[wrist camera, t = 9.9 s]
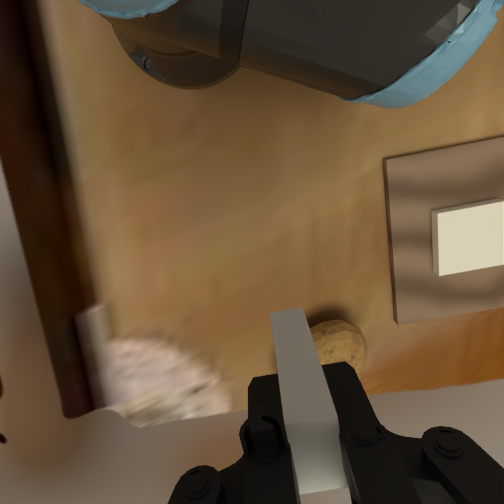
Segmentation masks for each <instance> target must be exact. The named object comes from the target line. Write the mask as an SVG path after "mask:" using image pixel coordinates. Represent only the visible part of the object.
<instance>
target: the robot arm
mask: <svg viewBox="0 0 504 504" xmlns="http://www.w3.org/2000/svg"><path fill="white" fill-rule="evenodd" d="M79 1H80V2H81V3H82V4H83V5H85V6H87V7H90V8H91V9H93V10H94V11H95V12H97V13H99V14H100V15H101V16H103V17H104V18H105V19H106V20H108V21H109V22H110V23H112V26H113V29H114V31H115V34H116V36H117V38H118V40H119V42H120V44H121V45H122V47H123V48H124V50H125V51H126V53H127V54H128V55H129V57H130V58H131V59H132V60H133V61H134V62H135V63H136V65H138V66H139V67H140V68H141V69H142V70H143V71H144V72H146V73H147V74H149V75H150V76H152V77H153V78H155V79H157V80H159V81H160V82H162V83H165V84H167V85H170V86H173V87H177V88H182V89H200V88H206V87H209V86H212V85H215V84H217V83H219V82H221V81H223V80H225V79H226V78H228V77H229V76H230V75H232V74H233V73H234V72H235V71H236V70H237V69H238V68H239V67H240V66H244V67H247V68H250V69H253V70H256V71H260V72H263V73H266V74H269V75H272V76H276V77H279V78H282V79H285V80H288V81H291V82H295V83H298V84H301V85H304V86H307V87H311V88H314V89H317V90H320V91H323V92H326V93H330V94H333V95H336V96H338V97H339V98H340V99H342V100H344V101H347V102H353V103H361V102H363V103H367V104H371V105H375V106H379V107H383V108H402V107H406V106H409V105H412V104H414V103H417V102H419V101H421V100H423V99H424V98H426V97H428V96H429V95H431V94H432V93H433V92H435V91H436V90H438V89H439V88H440V87H441V86H443V85H444V84H445V83H446V82H447V81H448V80H449V79H451V78H452V77H453V76H454V75H455V74H456V73H457V72H458V71H459V70H460V69H461V68H462V67H463V66H464V65H465V63H466V62H467V61H468V60H469V59H470V58H471V57H472V55H473V54H474V53H475V52H476V51H477V49H478V48H479V47H480V46H481V44H482V43H483V42H484V40H485V39H486V37H487V36H488V35H489V33H490V32H491V30H492V29H493V27H494V26H495V24H496V23H497V21H498V20H497V17H496V12H497V11H498V10H499V9H500V7H501V6H502V5H503V4H504V0H79ZM270 317H271V325H272V332H273V340H274V348H275V355H276V363H277V371H278V373H277V374H271V375H265V376H259V377H254V378H253V379H252V381H251V383H250V385H249V387H248V419H247V420H246V421H245V422H244V424H243V425H242V426H241V428H240V433H239V436H240V440H241V444H242V448H243V451H244V454H243V456H242V457H241V458H240V459H239V460H238V461H237V462H236V463H234V464H233V465H231V466H229V467H227V468H225V469H223V470H221V471H219V472H218V471H217V470H216V469H215V468H214V467H211V466H207V465H203V466H197V467H194V468H192V469H190V470H188V471H187V472H186V473H185V474H184V475H182V476H181V477H180V479H179V481H178V482H177V484H176V486H175V488H174V490H173V493H172V495H171V497H170V499H169V502H168V504H301V502H300V496H299V495H300V494H306V493H312V492H319V491H325V490H332V489H338V488H345V487H348V486H349V490H350V495H351V501H352V504H504V468H503V467H502V466H500V465H499V464H498V463H497V462H496V461H495V460H494V459H493V458H492V457H491V456H489V454H487V453H486V452H485V451H484V450H483V449H482V448H481V447H480V446H479V445H477V444H476V443H475V442H474V441H473V440H472V439H471V438H470V437H469V436H467V435H465V434H464V433H463V432H461V431H459V430H457V429H454V428H451V427H443V426H438V427H433V428H430V429H428V430H427V431H425V432H424V434H423V436H422V438H412V437H405V436H400V435H397V434H394V433H392V432H390V431H388V430H387V429H386V428H385V427H384V426H383V425H381V424H380V422H379V421H378V419H377V417H376V415H375V413H374V411H373V408H372V406H371V404H370V402H369V400H368V397H367V395H366V393H365V391H364V389H363V386H362V384H361V382H360V381H359V378H358V375H357V373H356V371H355V369H354V368H353V367H352V366H351V365H349V364H348V363H347V362H346V361H342V362H336V363H330V364H324V365H321V363H320V360H319V357H318V354H317V351H316V347H315V344H314V341H313V338H312V335H311V332H310V329H309V326H308V322H307V319H306V316H305V313H304V310H303V307H301V308H296V309H290V310H284V311H279V312H273V313H270ZM347 483H348V485H347Z"/></svg>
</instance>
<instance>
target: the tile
mask: <svg viewBox="0 0 504 504" xmlns="http://www.w3.org/2000/svg"><path fill="white" fill-rule="evenodd" d="M431 217H432V248H433V272H434V273H436V274H437V275H438V276H443V275H448V274H454V273H459V272H465V271H471V270H476V269H482V268H487V267H493V266H499V265H504V200H503V199H499V198H498V199H493V200H487V201H482V202H477V203H471V204H466V205H461V206H455V207H450V208H445V209H439V210H434V211H431Z"/></svg>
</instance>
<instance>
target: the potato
mask: <svg viewBox="0 0 504 504" xmlns="http://www.w3.org/2000/svg"><path fill="white" fill-rule="evenodd" d="M310 332H311V335H312V338H313V341H314V344H315V347H316V351H317V354H318V357H319V360H320V363H321V365H324V364H330V363H336V362H342V361H346V362H347V363H348V364H349V365H351V366H352V367H353V368H354V369H355V371H356V373H357V375H358V378H359V380H360V378H361V374H362V370H363V366H364V363H365V359H366V342H365V339H364V336H363V334H362V332H361V329H360V328H359V327H357V326H356V325H354V324H352V323H349V322H346V321H343V320H340V319H337V320H331V321H326V322H322V323H320V324H318V325H316V326H314V327H312V328H310Z"/></svg>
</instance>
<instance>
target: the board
mask: <svg viewBox="0 0 504 504" xmlns="http://www.w3.org/2000/svg"><path fill="white" fill-rule="evenodd" d="M383 170H384V183H385V197H386V211H387V224H388V238H389V252H390V265H391V279H392V293H393V307H394V320H395V322H396V323H397V325H402V324H408V323H414V322H420V321H425V320H431V319H437V318H443V317H449V316H454V315H460V314H466V313H472V312H477V311H483V310H489V309H495V308H500V307H504V265H499V266H493V267H487V268H482V269H476V270H471V271H465V272H459V273H454V274H448V275H443V276H438V275H437V274H436V273H434V272H433V248H432V217H431V211H434V210H439V209H445V208H450V207H455V206H461V205H466V204H471V203H477V202H482V201H487V200H493V199H498V198H499V199H503V200H504V136H499V137H494V138H489V139H484V140H479V141H474V142H469V143H463V144H458V145H453V146H448V147H443V148H438V149H433V150H428V151H422V152H417V153H412V154H407V155H402V156H397V157H392V158H386V159H383Z"/></svg>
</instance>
